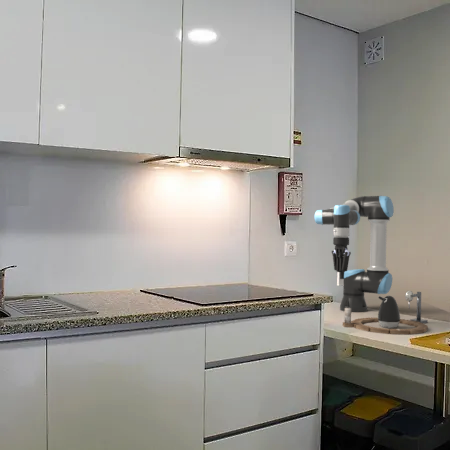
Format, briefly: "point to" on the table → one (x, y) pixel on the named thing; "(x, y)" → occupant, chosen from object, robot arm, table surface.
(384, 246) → the robot arm
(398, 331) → the turntable ring
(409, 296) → the dial indicator stand
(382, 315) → the pump dispenser
